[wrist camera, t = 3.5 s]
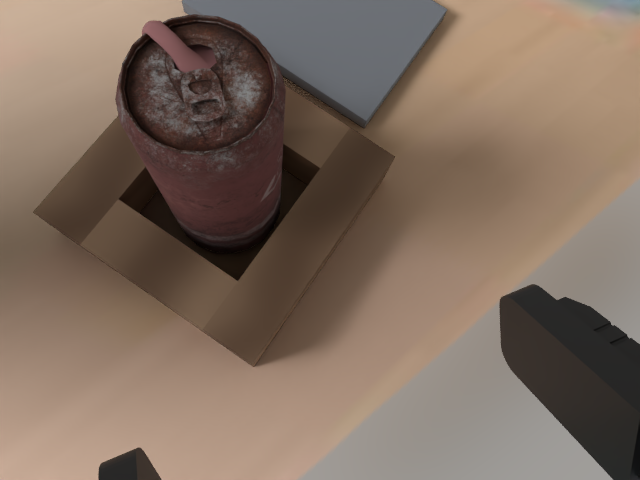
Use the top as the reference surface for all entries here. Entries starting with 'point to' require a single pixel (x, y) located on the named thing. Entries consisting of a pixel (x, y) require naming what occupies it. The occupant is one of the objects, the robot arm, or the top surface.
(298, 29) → the mat
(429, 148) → the top surface
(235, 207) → the can
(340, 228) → the box
